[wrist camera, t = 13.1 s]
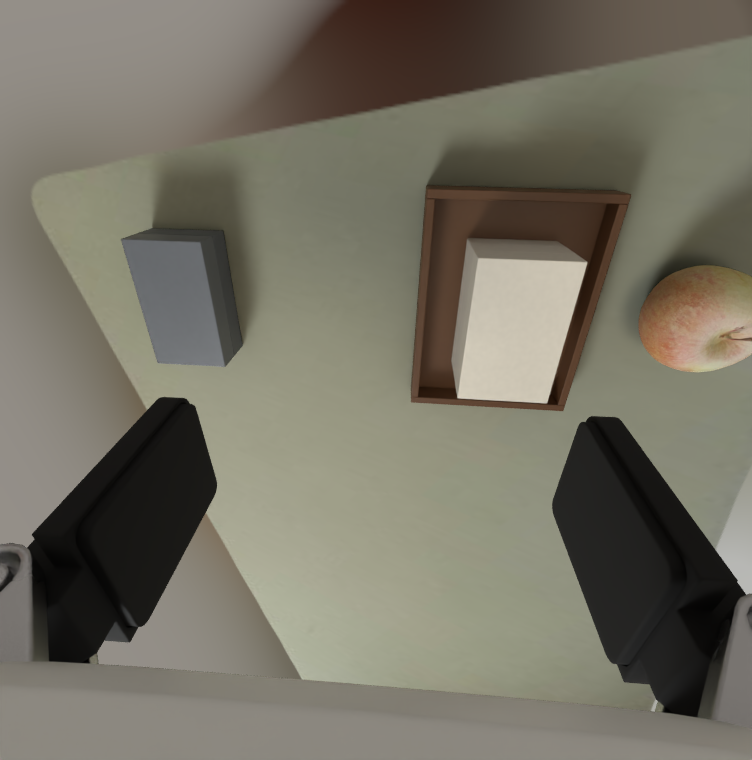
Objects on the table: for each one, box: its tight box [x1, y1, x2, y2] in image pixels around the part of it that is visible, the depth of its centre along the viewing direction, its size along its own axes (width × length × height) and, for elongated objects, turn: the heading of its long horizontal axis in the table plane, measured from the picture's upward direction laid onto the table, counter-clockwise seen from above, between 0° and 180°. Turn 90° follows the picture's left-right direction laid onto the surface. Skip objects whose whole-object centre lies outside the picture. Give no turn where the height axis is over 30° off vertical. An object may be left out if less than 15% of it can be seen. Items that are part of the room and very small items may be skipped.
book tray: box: [411, 185, 631, 411], centre depth 32 cm, size 17×13×2 cm
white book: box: [455, 250, 588, 403], centre depth 28 cm, size 10×7×2 cm, turn 179°
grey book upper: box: [121, 233, 234, 367], centre depth 32 cm, size 10×6×2 cm, turn 179°
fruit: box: [639, 265, 752, 372], centre depth 28 cm, size 8×7×8 cm
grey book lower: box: [139, 228, 243, 355], centre depth 33 cm, size 10×6×2 cm, turn 179°
